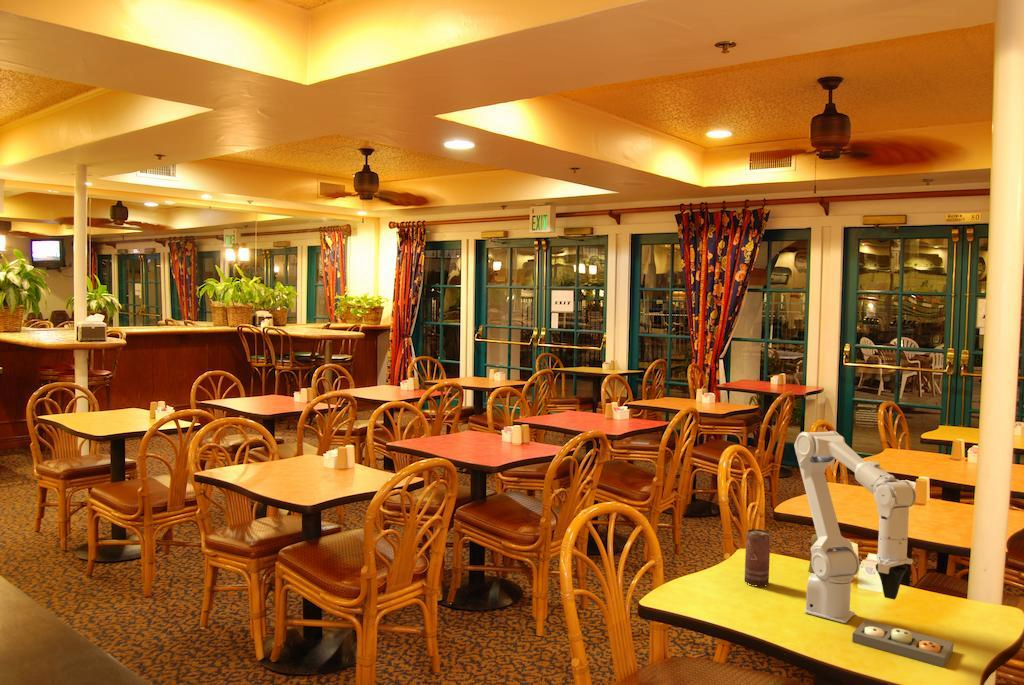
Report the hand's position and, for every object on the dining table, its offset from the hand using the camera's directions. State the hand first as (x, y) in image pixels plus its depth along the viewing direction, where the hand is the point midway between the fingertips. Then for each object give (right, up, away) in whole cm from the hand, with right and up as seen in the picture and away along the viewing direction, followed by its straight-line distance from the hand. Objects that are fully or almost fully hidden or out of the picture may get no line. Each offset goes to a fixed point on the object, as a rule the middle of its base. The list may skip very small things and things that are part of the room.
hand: (890, 597), depth 170 cm
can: (-18, -9, +37) cm, 42 cm away
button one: (-2, -10, +2) cm, 11 cm away
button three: (+6, -11, -5) cm, 13 cm away
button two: (+2, -9, -1) cm, 9 cm away
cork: (+3, -9, +46) cm, 47 cm away
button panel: (+2, -11, 0) cm, 11 cm away
